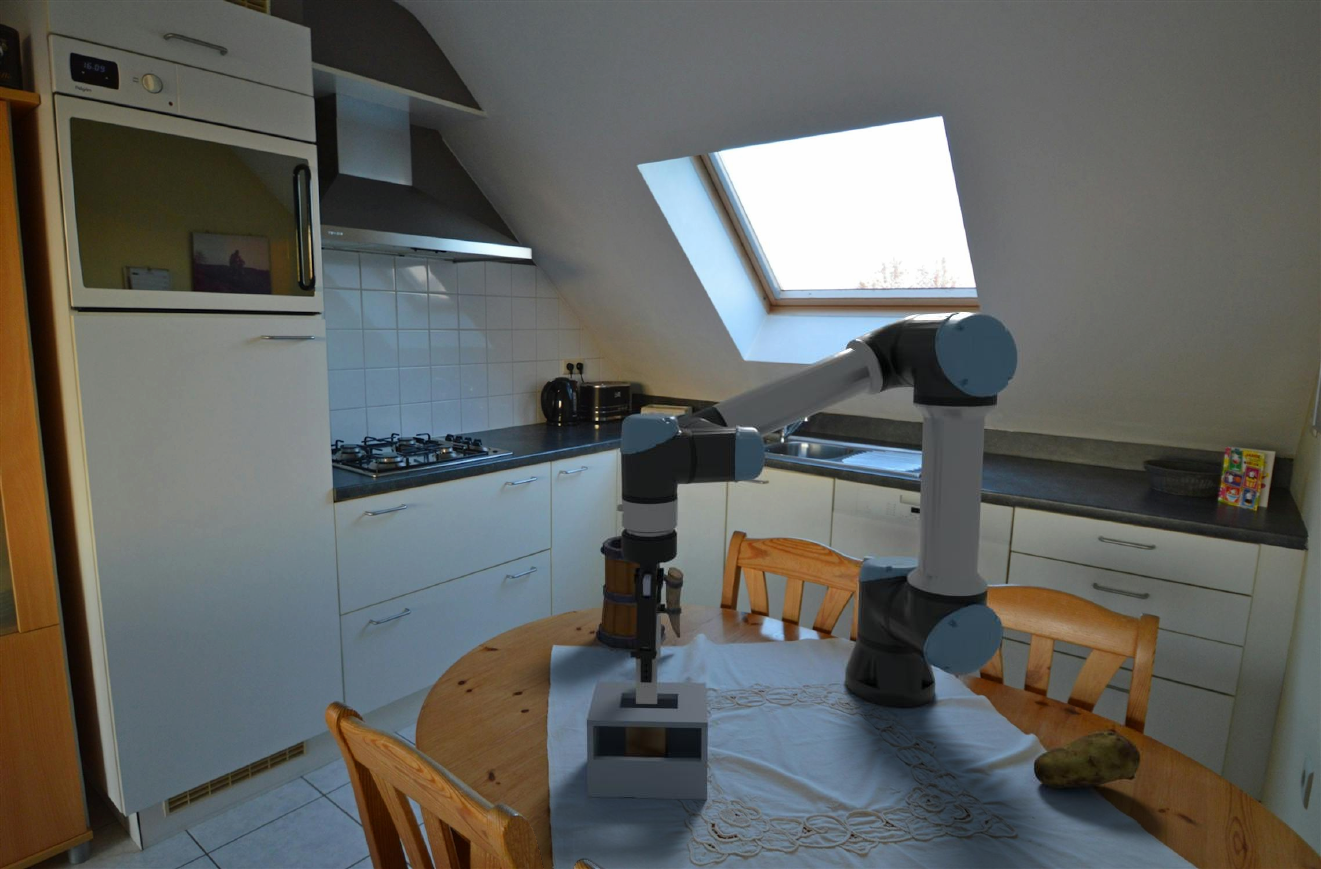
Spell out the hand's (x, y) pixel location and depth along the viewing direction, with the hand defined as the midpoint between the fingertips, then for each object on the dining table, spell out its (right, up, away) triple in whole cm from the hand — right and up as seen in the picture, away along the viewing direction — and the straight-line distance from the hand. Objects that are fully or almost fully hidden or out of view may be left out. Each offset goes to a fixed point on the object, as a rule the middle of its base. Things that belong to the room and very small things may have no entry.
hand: (649, 678), depth 102 cm
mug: (-2, -8, +47) cm, 48 cm away
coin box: (0, -14, +2) cm, 14 cm away
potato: (+60, -15, -1) cm, 62 cm away
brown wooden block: (0, -13, +2) cm, 14 cm away
